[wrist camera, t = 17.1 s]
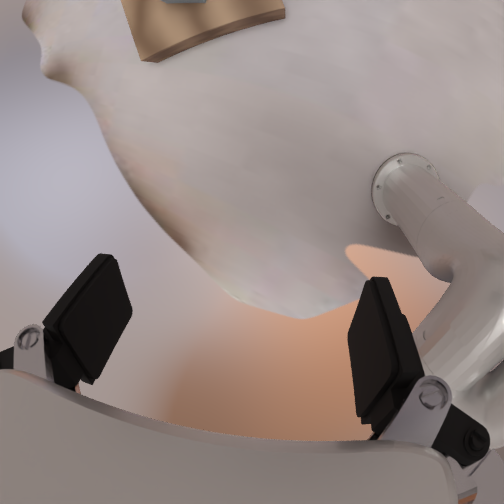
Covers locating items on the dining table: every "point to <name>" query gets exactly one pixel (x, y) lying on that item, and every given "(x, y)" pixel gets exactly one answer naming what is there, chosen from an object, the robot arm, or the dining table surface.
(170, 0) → the blue block
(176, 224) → the dining table surface
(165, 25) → the riser block
